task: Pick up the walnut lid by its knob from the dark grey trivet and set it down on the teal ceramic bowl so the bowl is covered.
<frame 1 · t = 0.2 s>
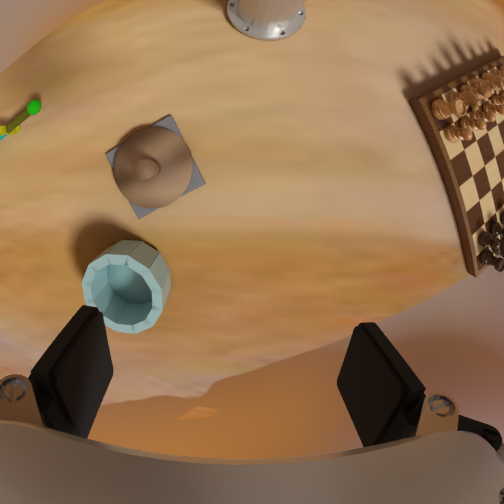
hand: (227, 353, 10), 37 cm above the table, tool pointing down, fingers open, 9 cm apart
toy sword: (0, 142, 37), on the table
lid: (153, 167, 41), point 1 cm above the table, touching trivet
chess set: (495, 155, 45), on the table
bowl: (135, 275, 47), on the table
trivet: (154, 167, 42), on the table
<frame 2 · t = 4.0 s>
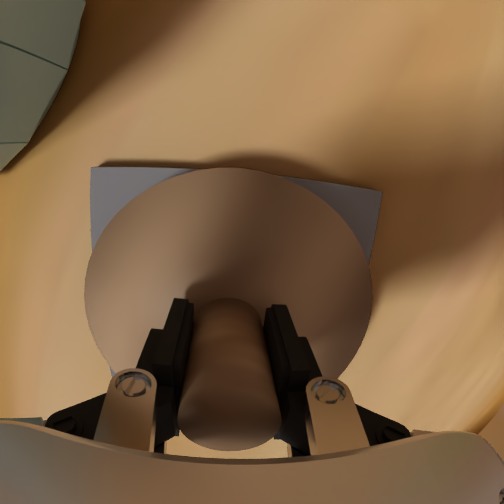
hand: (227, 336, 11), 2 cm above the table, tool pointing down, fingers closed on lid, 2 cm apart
lid: (227, 315, 12), point 1 cm above the table, touching gripper, trivet
trivet: (227, 308, 13), on the table
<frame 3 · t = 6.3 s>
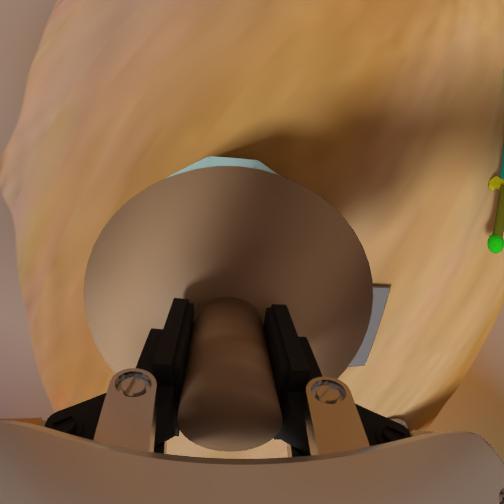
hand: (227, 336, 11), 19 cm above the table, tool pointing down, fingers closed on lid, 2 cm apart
toy sword: (496, 149, 29), on the table
lid: (227, 315, 12), point 18 cm above the table, touching gripper
bowl: (226, 223, 29), on the table
trivet: (334, 328, 34), on the table
when the fingers open (10 cm above the table, at t = 8.5 s): lid stays where it is, resting on bowl.
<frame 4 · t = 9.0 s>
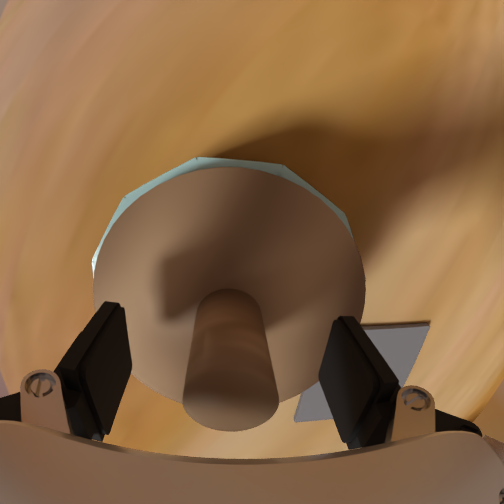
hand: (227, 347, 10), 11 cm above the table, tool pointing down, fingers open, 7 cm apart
lid: (228, 306, 13), point 8 cm above the table, touching bowl
bowl: (227, 251, 21), on the table
trivet: (361, 375, 26), on the table
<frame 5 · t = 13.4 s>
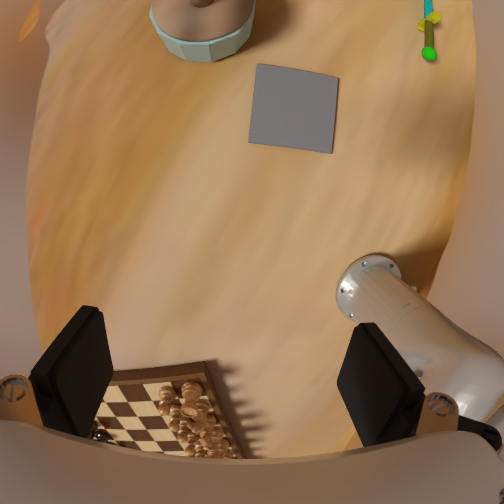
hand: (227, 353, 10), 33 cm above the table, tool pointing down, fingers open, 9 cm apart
toy sword: (421, 8, 32), on the table
lid: (202, 3, 25), point 8 cm above the table, touching bowl
chess set: (149, 428, 57), on the table
bowl: (206, 27, 33), on the table
trivet: (294, 107, 38), on the table
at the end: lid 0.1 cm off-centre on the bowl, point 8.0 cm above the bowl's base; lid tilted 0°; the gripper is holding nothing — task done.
